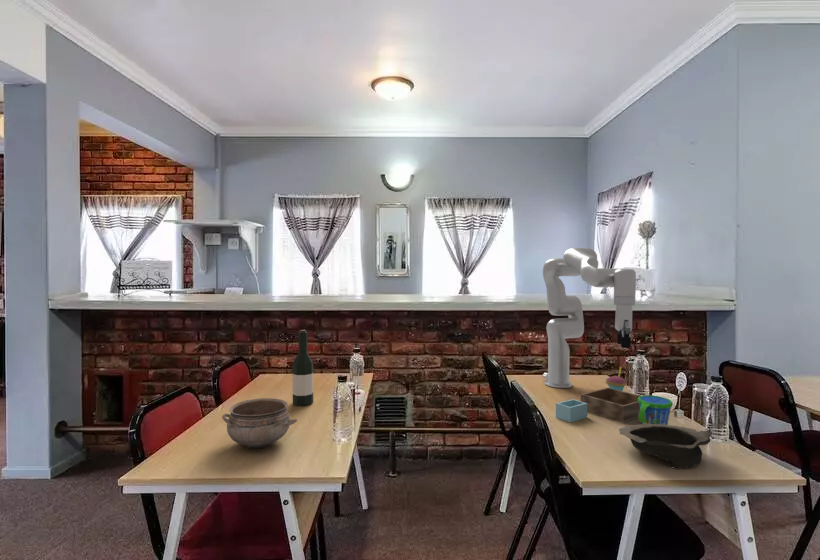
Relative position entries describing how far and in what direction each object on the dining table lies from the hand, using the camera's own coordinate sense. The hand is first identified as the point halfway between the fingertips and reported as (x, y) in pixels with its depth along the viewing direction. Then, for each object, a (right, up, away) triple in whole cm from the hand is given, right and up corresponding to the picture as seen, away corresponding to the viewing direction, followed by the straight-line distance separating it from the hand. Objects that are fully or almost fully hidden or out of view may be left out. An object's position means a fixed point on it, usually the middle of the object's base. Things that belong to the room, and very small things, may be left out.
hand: (623, 345), depth 176 cm
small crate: (-22, -26, -4) cm, 34 cm away
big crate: (-2, -26, +3) cm, 26 cm away
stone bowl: (-6, -28, -38) cm, 48 cm away
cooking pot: (-130, -27, -31) cm, 136 cm away
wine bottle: (-126, -25, +12) cm, 129 cm away
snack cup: (+4, -27, -15) cm, 31 cm away
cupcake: (+11, -25, +30) cm, 41 cm away
